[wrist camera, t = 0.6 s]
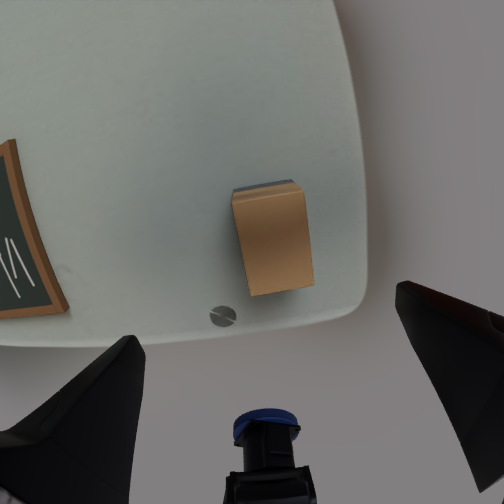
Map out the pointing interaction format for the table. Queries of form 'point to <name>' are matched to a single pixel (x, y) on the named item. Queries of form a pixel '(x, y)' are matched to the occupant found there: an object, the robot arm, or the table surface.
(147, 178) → the table surface
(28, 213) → the chalkboard
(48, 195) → the table surface
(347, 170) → the table surface
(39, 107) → the table surface
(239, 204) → the eraser
